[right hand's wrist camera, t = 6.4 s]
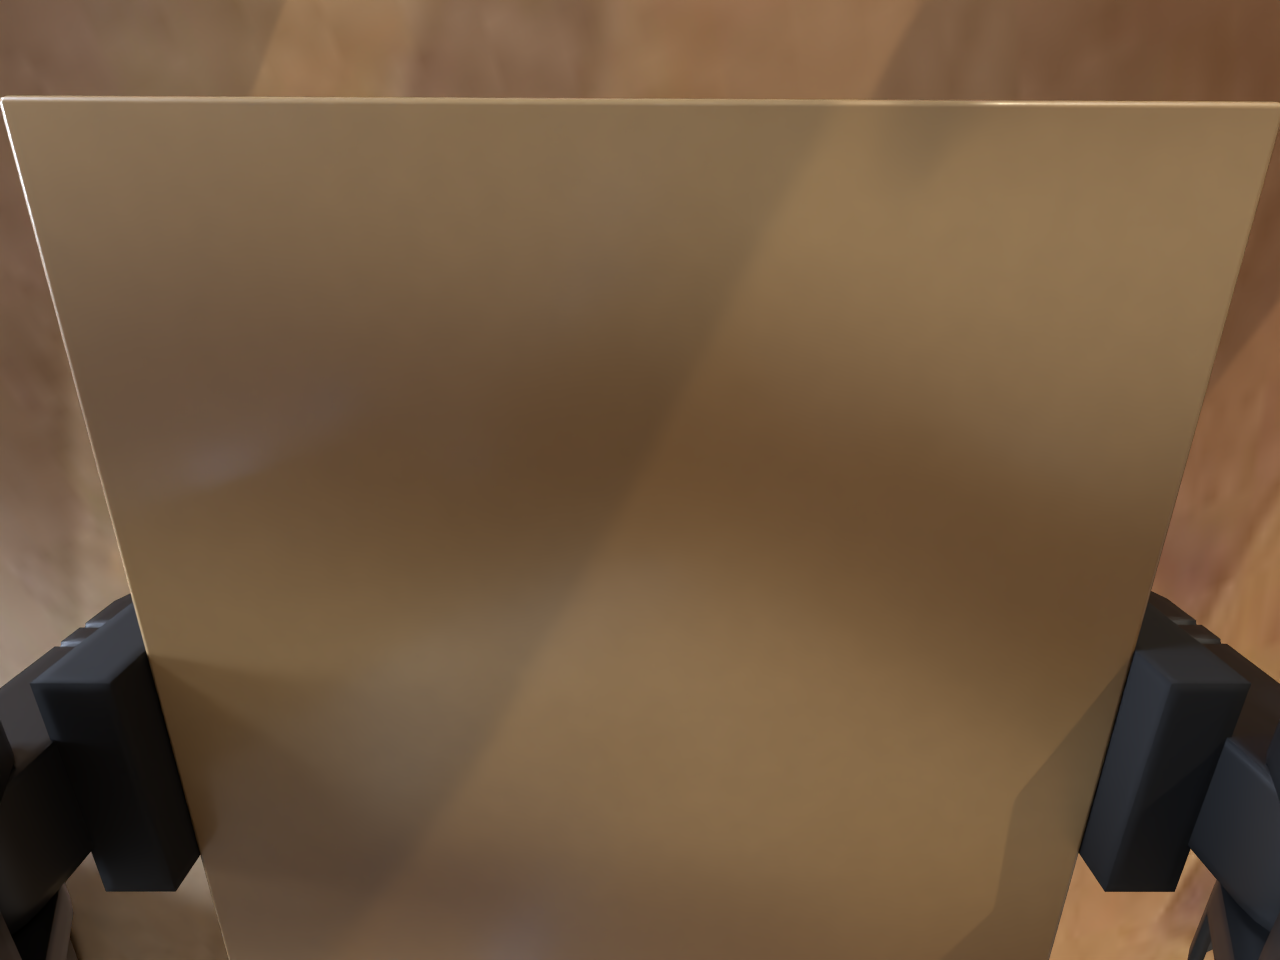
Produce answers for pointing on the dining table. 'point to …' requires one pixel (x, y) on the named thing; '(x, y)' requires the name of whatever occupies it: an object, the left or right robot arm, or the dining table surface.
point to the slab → (639, 497)
